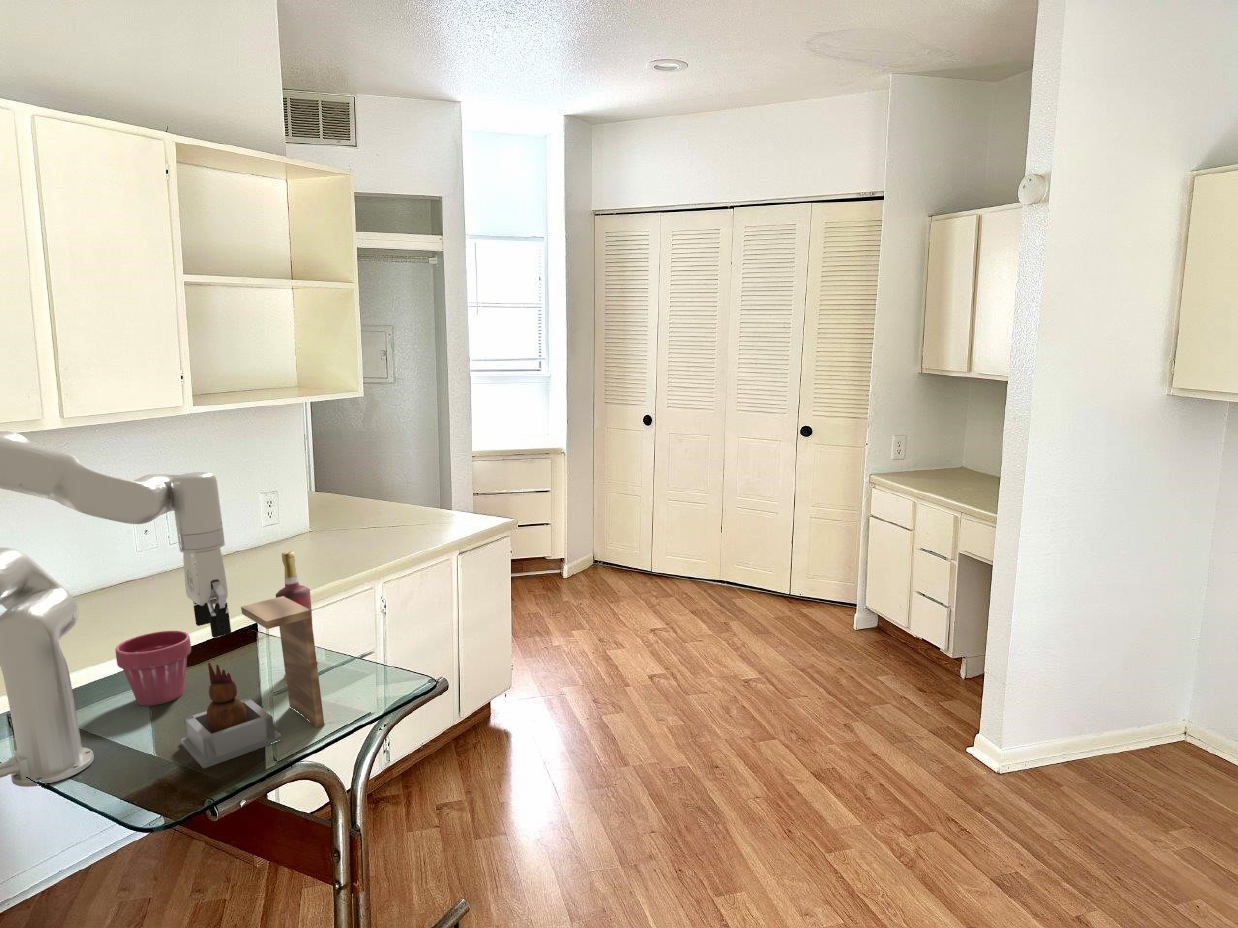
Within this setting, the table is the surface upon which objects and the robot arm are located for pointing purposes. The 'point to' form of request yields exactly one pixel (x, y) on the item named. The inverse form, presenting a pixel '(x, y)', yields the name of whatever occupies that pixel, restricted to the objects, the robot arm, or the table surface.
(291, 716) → the table surface
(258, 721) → the socket
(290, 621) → the wooden l-shaped stand
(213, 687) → the wooden figurine
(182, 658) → the plant pot
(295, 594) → the liquor
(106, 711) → the table surface
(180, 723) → the table surface
